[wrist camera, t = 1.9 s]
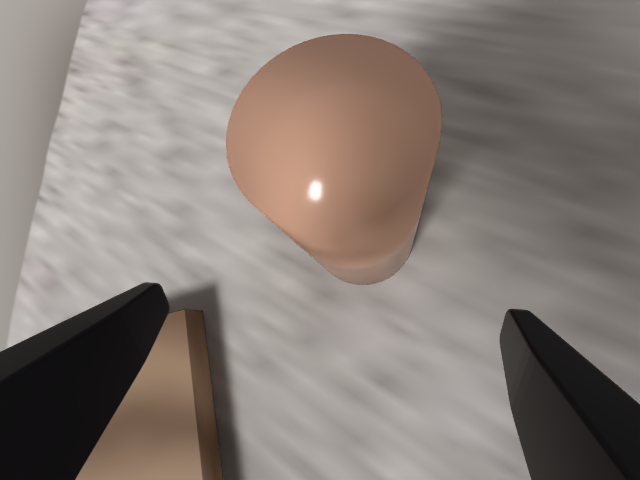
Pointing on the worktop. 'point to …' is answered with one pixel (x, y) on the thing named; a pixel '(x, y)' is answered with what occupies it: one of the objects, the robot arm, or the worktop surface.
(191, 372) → the walnut stand
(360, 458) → the worktop surface
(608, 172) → the worktop surface
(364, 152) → the pink rounded glossy part
